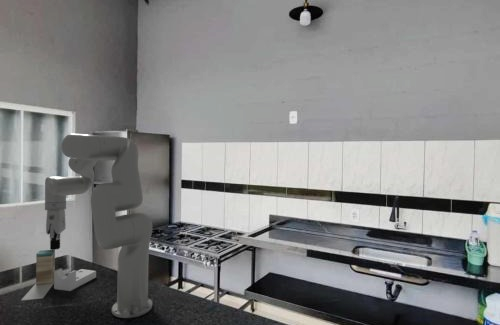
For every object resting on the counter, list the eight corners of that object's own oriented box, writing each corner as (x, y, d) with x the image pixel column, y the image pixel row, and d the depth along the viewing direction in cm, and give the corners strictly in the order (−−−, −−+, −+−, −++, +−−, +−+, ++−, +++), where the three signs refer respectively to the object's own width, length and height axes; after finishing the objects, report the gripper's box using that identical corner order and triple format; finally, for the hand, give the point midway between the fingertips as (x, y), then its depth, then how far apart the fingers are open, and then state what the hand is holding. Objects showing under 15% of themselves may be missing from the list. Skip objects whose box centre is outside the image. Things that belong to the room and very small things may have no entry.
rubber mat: (42, 299, 105) (42, 298, 105) (20, 302, 103) (20, 300, 103) (58, 278, 123) (58, 276, 123) (40, 279, 121) (40, 278, 121)
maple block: (51, 284, 116) (51, 252, 116) (36, 285, 114) (36, 253, 114) (54, 279, 120) (54, 249, 120) (39, 281, 118) (40, 250, 118)
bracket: (70, 293, 111) (70, 273, 110) (54, 291, 112) (54, 270, 112) (95, 279, 123) (96, 261, 123) (81, 277, 125) (81, 259, 125)
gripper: (60, 208, 122) (60, 254, 122) (70, 202, 136) (69, 243, 136) (38, 209, 119) (38, 255, 120) (51, 203, 134) (50, 244, 134)
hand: (55, 248), depth 128 cm, fingers closed
